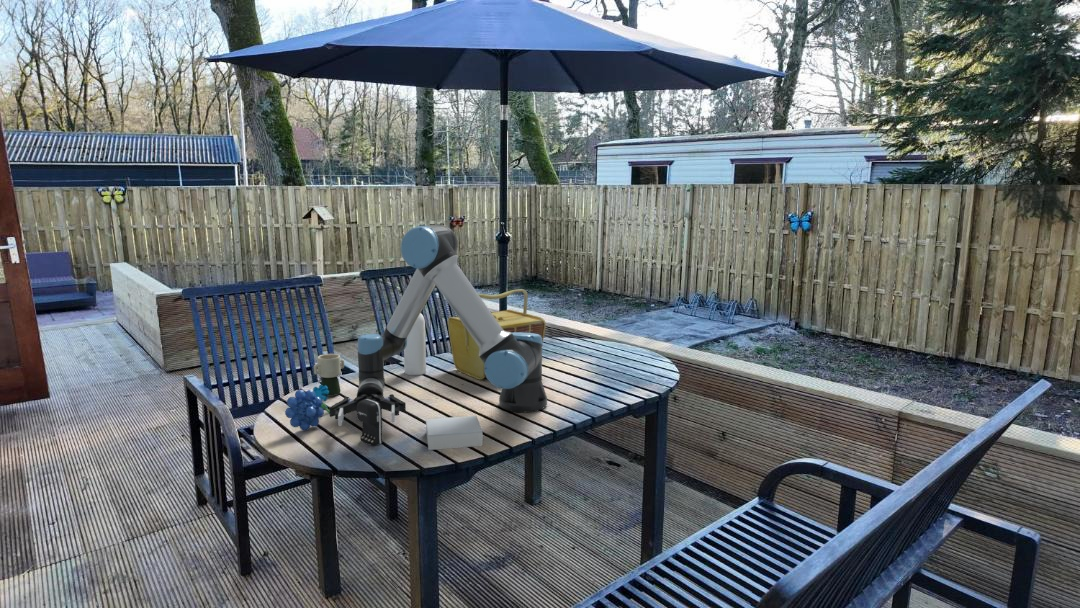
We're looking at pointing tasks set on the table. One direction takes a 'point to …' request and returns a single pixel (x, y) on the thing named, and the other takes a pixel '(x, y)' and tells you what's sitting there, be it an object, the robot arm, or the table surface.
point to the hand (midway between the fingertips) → (366, 419)
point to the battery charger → (370, 421)
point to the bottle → (416, 349)
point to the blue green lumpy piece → (320, 392)
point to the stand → (453, 432)
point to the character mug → (329, 372)
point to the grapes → (304, 409)
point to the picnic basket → (509, 320)
